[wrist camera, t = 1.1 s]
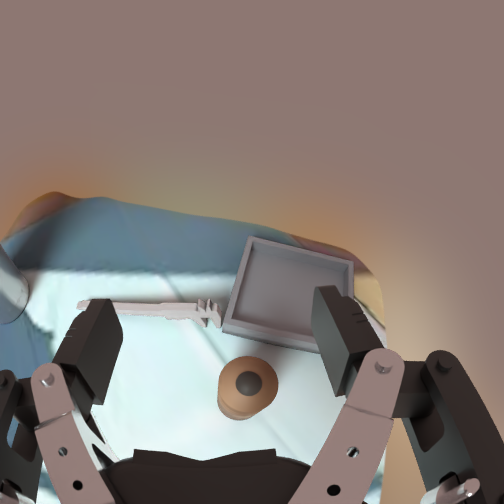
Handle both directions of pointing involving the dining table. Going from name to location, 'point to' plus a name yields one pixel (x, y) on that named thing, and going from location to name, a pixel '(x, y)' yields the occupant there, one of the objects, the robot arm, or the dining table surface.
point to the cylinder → (246, 387)
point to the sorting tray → (282, 293)
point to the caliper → (170, 310)
